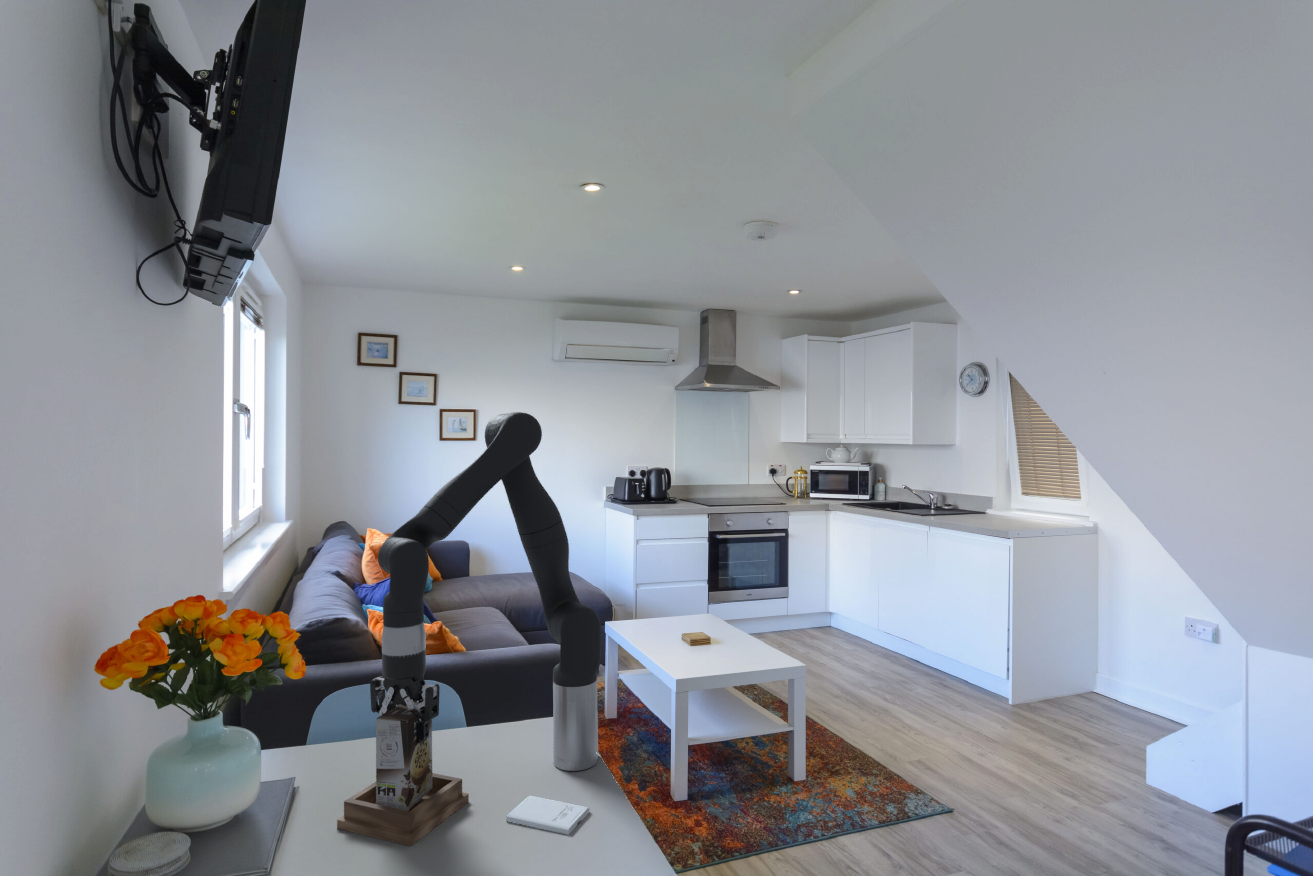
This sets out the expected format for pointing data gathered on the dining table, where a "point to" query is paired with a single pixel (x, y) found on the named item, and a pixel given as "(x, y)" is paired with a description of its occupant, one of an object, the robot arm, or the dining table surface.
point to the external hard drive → (548, 814)
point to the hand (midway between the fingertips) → (404, 738)
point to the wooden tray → (403, 812)
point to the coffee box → (401, 760)
